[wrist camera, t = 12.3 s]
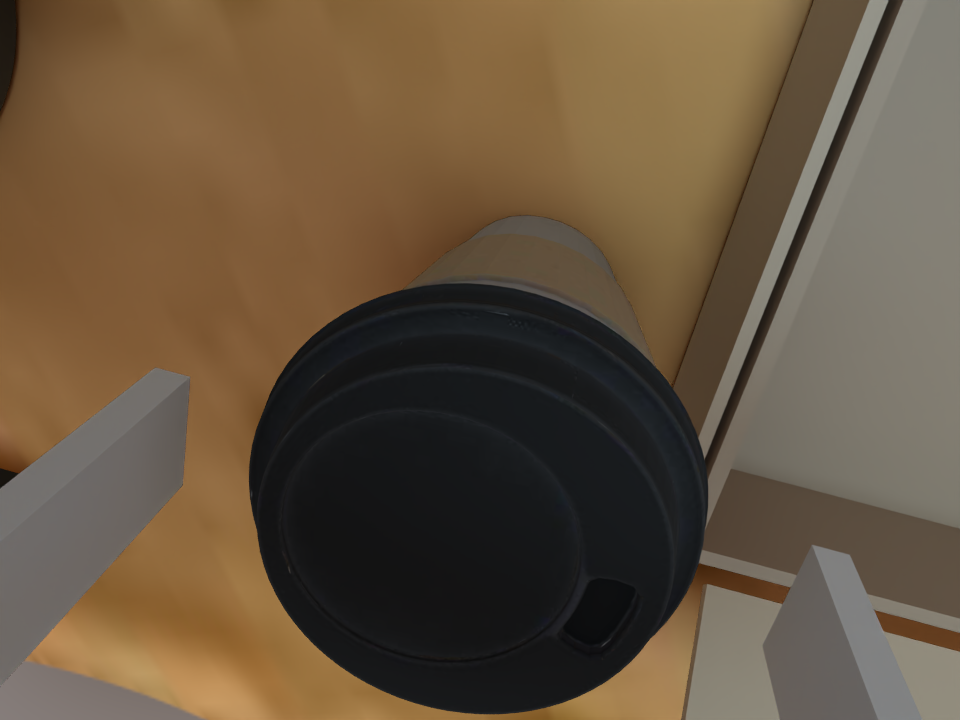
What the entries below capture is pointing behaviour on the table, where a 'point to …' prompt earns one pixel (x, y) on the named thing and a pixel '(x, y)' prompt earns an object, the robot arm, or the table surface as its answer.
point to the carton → (843, 319)
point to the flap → (744, 673)
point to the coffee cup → (482, 479)
